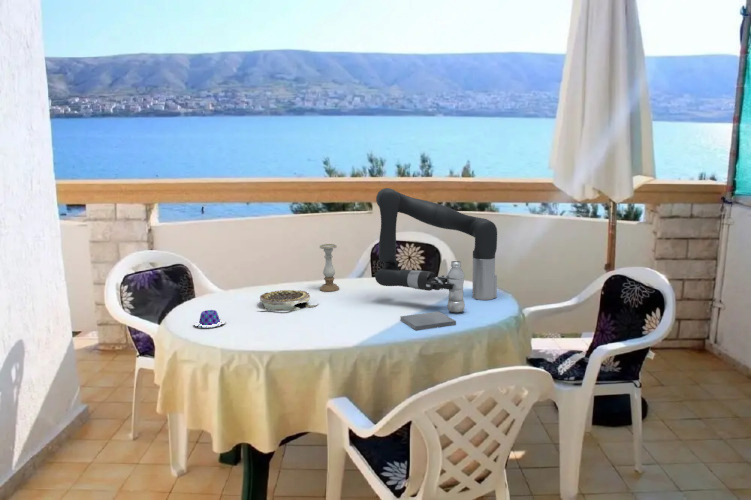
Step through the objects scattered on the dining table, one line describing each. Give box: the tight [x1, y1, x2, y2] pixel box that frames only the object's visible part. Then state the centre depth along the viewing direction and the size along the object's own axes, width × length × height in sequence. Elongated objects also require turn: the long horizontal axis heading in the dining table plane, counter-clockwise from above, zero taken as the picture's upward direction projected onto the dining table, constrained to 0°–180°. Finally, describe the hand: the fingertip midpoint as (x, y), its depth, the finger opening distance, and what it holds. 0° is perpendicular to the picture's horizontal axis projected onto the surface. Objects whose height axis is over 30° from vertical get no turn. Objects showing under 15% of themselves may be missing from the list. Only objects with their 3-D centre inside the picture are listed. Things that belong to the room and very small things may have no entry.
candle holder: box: [319, 243, 340, 293], centre depth 291 cm, size 9×9×20 cm
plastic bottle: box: [446, 260, 466, 314], centre depth 250 cm, size 6×7×20 cm
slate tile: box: [399, 311, 457, 331], centre depth 239 cm, size 16×14×2 cm
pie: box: [259, 289, 319, 314], centre depth 269 cm, size 28×27×5 cm
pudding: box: [198, 309, 221, 325], centre depth 242 cm, size 12×12×5 cm
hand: (457, 284), depth 250 cm, fingers open, 8 cm apart
